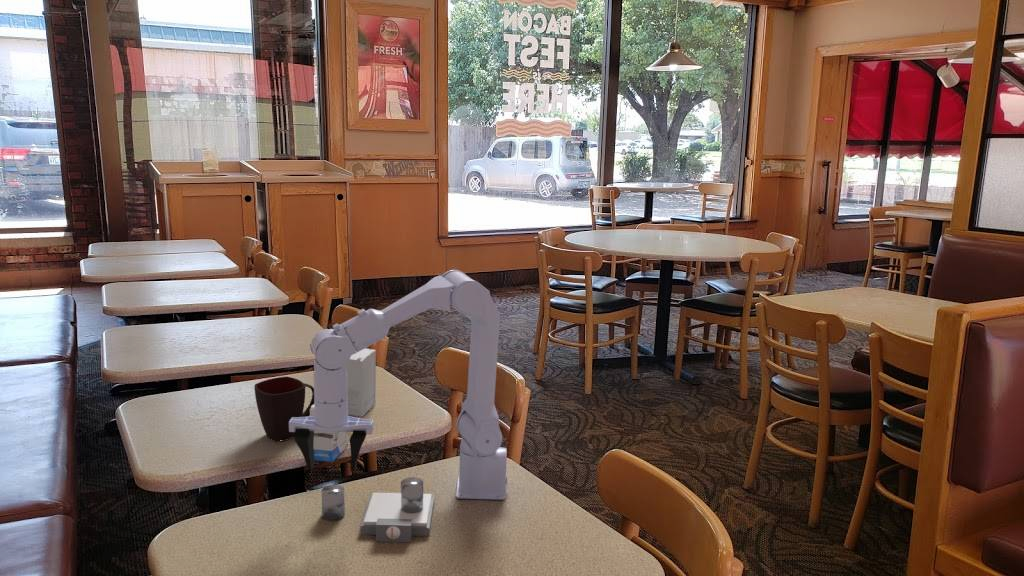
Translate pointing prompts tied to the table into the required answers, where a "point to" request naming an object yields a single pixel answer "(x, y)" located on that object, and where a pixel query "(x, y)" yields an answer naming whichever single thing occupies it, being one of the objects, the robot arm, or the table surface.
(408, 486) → the cylinder
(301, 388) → the cup
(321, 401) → the robot arm
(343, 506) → the cylinder
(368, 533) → the scale
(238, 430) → the table surface
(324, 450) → the ink box
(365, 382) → the skincare box
